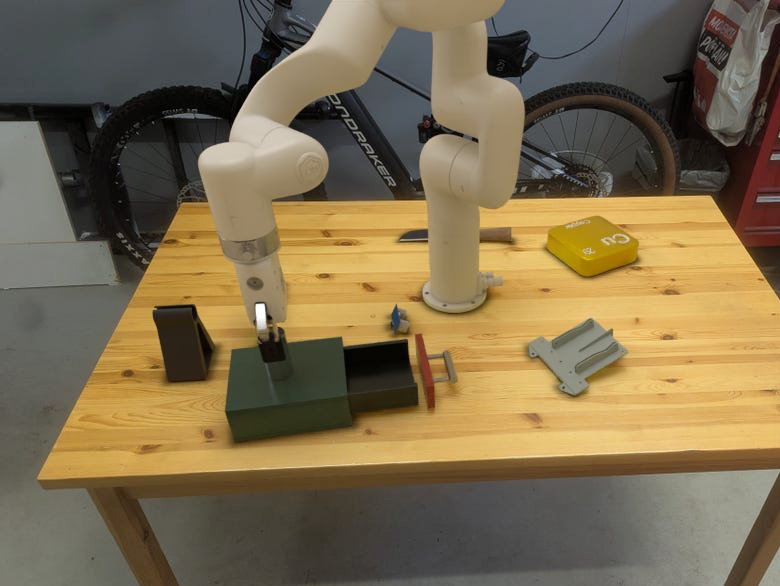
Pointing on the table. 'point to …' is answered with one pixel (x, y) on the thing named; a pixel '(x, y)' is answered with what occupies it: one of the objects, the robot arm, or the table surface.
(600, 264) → the element tile
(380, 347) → the drawer
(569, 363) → the metal bracket
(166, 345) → the phone stand
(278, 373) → the tin
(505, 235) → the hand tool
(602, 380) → the table surface
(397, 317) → the ultrasonic sensor
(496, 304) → the table surface
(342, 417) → the cabinet
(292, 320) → the table surface
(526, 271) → the table surface
